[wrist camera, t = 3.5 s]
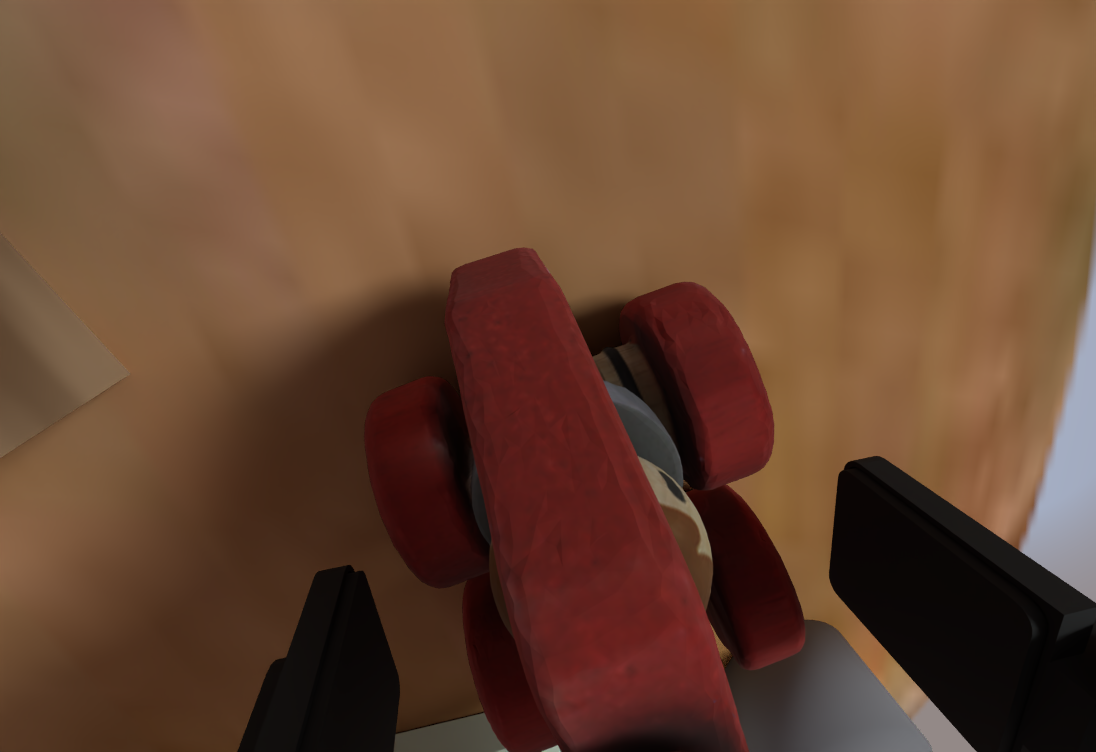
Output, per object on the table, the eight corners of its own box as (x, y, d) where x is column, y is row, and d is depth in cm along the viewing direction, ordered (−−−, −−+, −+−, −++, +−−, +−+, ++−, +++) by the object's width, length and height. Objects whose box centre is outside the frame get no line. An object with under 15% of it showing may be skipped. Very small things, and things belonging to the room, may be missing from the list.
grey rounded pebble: (720, 635, 16) (784, 750, 13) (852, 606, 17) (945, 710, 14) (719, 730, 18) (775, 852, 15) (839, 701, 19) (919, 814, 15)
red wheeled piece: (648, 179, 11) (1777, 258, 2) (743, 597, 16) (1167, 1231, 7) (331, 291, 11) (-484, 1135, 1) (525, 680, 16) (632, 1460, 6)
